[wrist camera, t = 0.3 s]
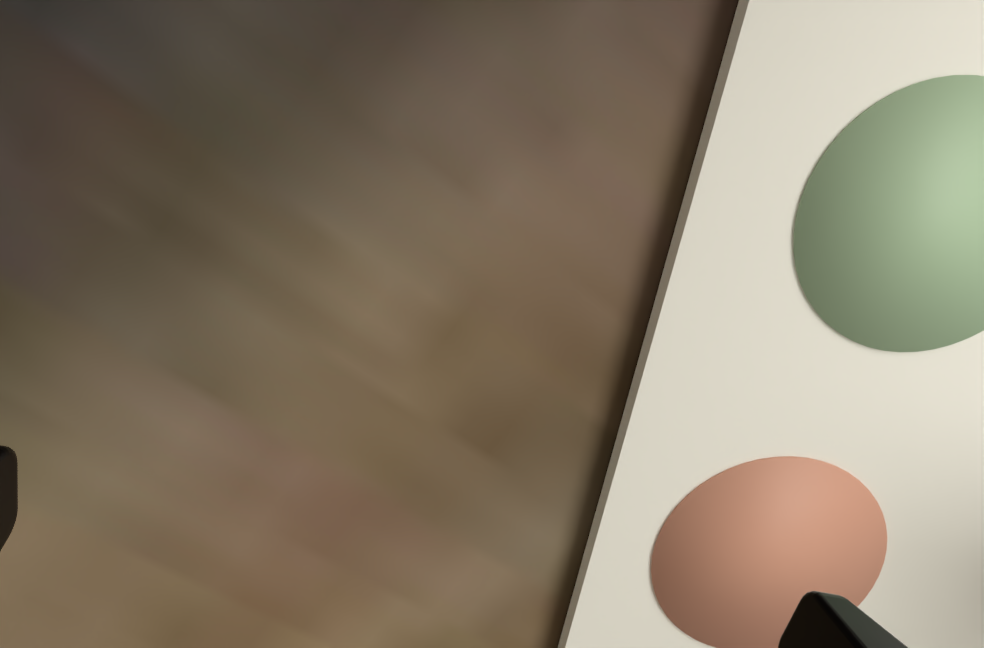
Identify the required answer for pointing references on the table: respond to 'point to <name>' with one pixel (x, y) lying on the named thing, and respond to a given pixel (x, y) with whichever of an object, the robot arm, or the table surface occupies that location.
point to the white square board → (811, 347)
